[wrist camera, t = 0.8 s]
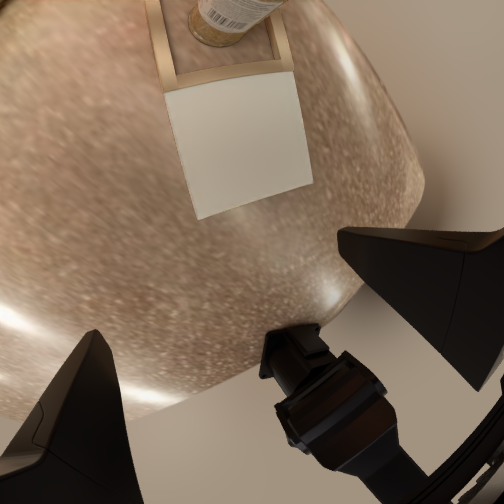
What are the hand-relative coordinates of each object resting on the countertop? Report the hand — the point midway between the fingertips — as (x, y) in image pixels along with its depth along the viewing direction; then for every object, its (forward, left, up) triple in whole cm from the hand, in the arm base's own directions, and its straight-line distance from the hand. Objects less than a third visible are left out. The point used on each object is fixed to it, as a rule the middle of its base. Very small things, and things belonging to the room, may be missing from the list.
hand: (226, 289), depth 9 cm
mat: (+5, -5, -13) cm, 15 cm away
